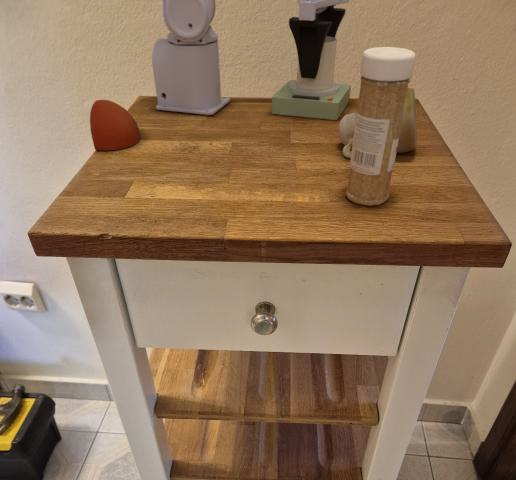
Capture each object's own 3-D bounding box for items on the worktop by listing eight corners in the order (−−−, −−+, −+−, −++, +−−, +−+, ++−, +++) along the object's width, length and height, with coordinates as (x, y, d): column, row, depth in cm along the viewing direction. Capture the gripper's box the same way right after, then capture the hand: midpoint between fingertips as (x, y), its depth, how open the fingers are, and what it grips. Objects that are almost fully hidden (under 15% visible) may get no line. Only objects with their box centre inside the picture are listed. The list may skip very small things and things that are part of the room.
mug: (333, 137, 64) (380, 64, 58) (391, 180, 64) (443, 110, 58) (322, 141, 57) (374, 59, 52) (386, 188, 57) (445, 111, 52)
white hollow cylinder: (292, 88, 70) (294, 41, 66) (301, 79, 74) (304, 34, 70) (328, 91, 69) (332, 43, 65) (335, 82, 73) (340, 36, 69)
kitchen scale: (271, 114, 71) (271, 92, 69) (289, 96, 78) (290, 75, 76) (336, 120, 68) (339, 98, 66) (349, 101, 75) (351, 80, 73)
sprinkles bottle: (397, 200, 49) (428, 51, 40) (365, 211, 47) (389, 58, 38) (367, 184, 52) (389, 42, 43) (335, 194, 50) (352, 49, 41)
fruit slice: (153, 121, 65) (130, 145, 67) (114, 80, 62) (92, 106, 64) (138, 144, 59) (114, 169, 61) (94, 100, 56) (71, 128, 58)
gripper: (342, -43, 55) (330, 86, 64) (362, -50, 65) (350, 62, 74) (284, -44, 57) (281, 81, 66) (313, -50, 67) (306, 59, 76)
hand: (314, 71), depth 70 cm, fingers open, 7 cm apart
